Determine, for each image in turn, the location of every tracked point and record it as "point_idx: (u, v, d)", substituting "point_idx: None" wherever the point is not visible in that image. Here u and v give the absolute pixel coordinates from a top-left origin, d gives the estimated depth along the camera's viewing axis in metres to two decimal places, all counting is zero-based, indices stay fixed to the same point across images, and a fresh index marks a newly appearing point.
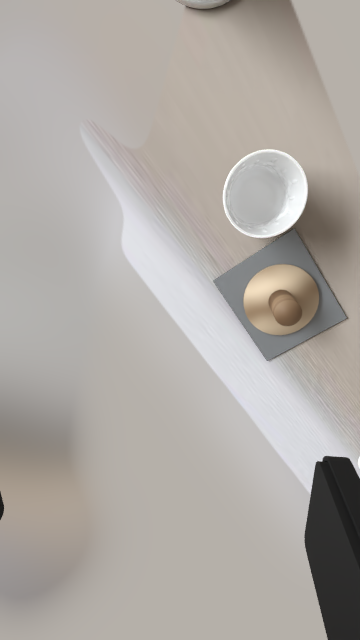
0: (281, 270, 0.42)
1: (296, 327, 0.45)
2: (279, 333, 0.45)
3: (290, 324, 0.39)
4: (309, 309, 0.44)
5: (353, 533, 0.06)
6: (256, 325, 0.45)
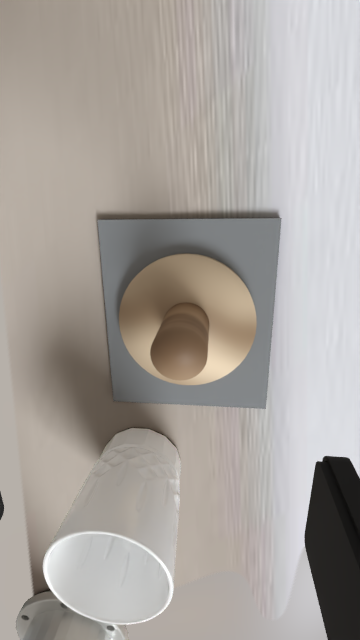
0: None
1: (187, 262, 0.22)
2: (222, 269, 0.22)
3: (186, 332, 0.18)
4: (148, 282, 0.22)
5: (353, 533, 0.06)
6: (251, 308, 0.22)
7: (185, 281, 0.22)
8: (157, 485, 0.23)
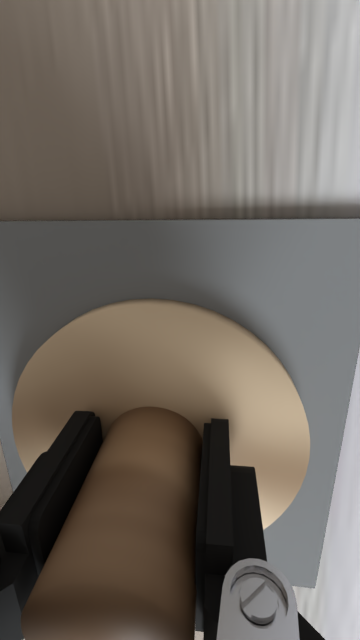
0: None
1: (150, 323, 0.09)
2: (233, 339, 0.09)
3: (122, 596, 0.06)
4: (67, 363, 0.10)
5: (206, 472, 0.08)
6: (298, 424, 0.10)
7: (148, 363, 0.10)
8: None
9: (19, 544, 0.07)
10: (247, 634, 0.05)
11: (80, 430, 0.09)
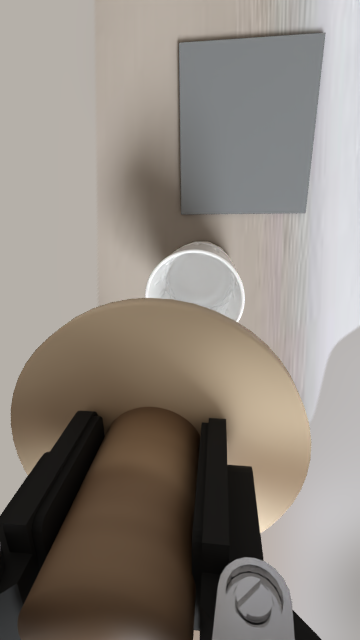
0: None
1: (150, 322, 0.09)
2: (234, 339, 0.09)
3: (120, 599, 0.05)
4: (66, 363, 0.10)
5: (203, 471, 0.08)
6: (299, 425, 0.10)
7: (148, 363, 0.10)
8: (224, 253, 0.29)
9: (23, 544, 0.07)
10: (242, 633, 0.05)
11: (83, 430, 0.09)
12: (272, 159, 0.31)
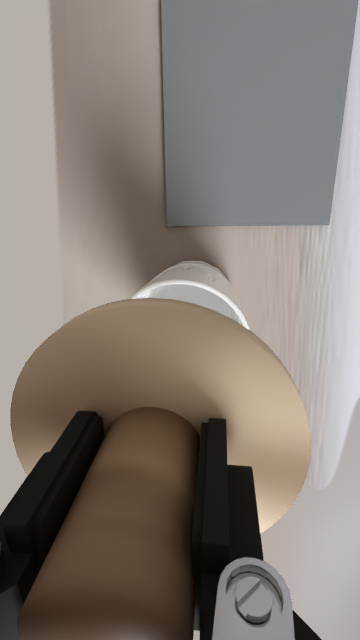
0: None
1: (150, 322, 0.09)
2: (234, 339, 0.09)
3: (119, 600, 0.05)
4: (66, 363, 0.10)
5: (203, 471, 0.08)
6: (299, 425, 0.10)
7: (148, 364, 0.10)
8: (223, 280, 0.21)
9: (23, 544, 0.07)
10: (242, 633, 0.05)
11: (83, 430, 0.09)
12: (286, 154, 0.23)
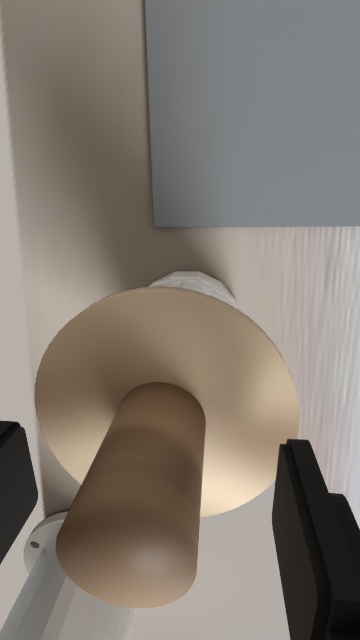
0: None
1: (158, 307, 0.11)
2: (231, 321, 0.10)
3: (139, 517, 0.07)
4: (85, 343, 0.11)
5: (303, 504, 0.07)
6: (288, 396, 0.11)
7: (156, 343, 0.11)
8: (227, 302, 0.16)
9: None
10: None
11: None
12: (311, 132, 0.17)
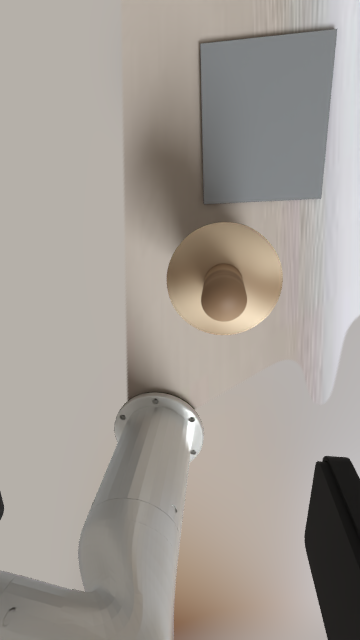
0: (199, 321, 0.29)
1: (224, 229, 0.26)
2: (253, 233, 0.26)
3: (230, 281, 0.23)
4: (192, 247, 0.27)
5: (353, 533, 0.06)
6: (277, 266, 0.27)
7: (222, 245, 0.27)
8: None
9: None
10: None
11: None
12: (289, 149, 0.33)
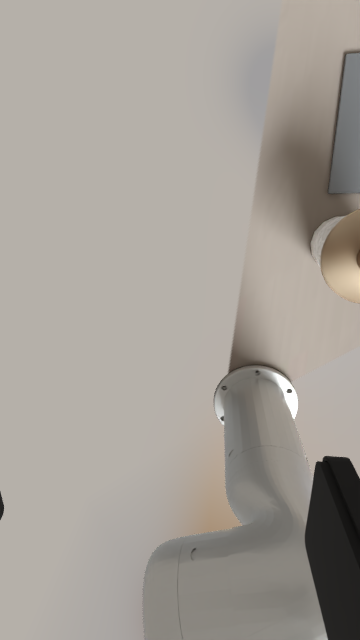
0: (346, 291, 0.34)
1: None
2: None
3: None
4: (351, 225, 0.32)
5: (353, 533, 0.06)
6: None
7: None
8: None
9: None
10: None
11: None
12: None
